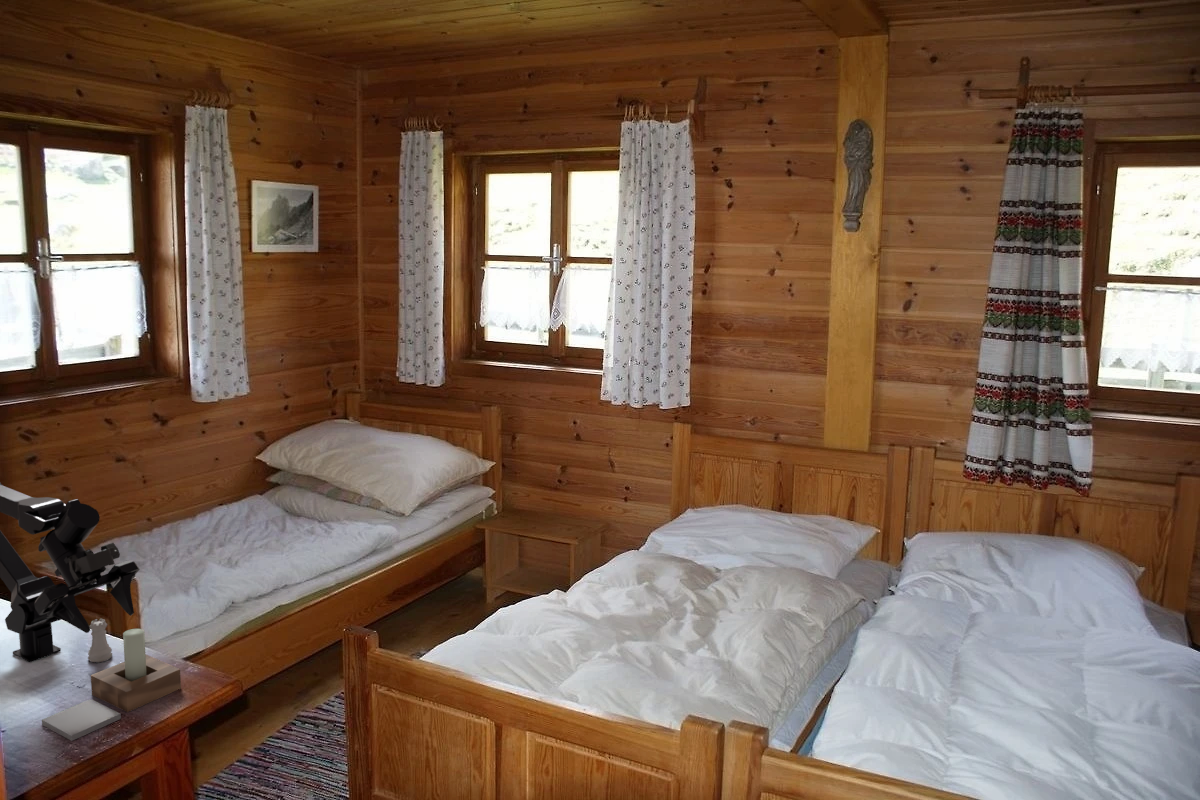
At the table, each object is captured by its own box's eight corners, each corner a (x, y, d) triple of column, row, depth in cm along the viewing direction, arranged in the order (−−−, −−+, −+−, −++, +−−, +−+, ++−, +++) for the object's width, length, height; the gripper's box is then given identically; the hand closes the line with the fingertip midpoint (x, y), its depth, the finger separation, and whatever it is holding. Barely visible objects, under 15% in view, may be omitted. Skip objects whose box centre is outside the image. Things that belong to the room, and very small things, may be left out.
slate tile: (42, 724, 170) (41, 719, 170) (91, 703, 178) (90, 698, 177) (71, 740, 165) (71, 735, 165) (120, 718, 173) (120, 713, 173)
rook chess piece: (102, 664, 192) (100, 627, 191) (82, 661, 193) (80, 624, 192) (117, 654, 197) (115, 618, 195) (98, 652, 198) (96, 615, 196)
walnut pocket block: (91, 694, 181) (90, 675, 180) (145, 672, 190) (144, 653, 189) (127, 712, 175) (126, 692, 175) (180, 688, 185) (180, 669, 184)
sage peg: (122, 692, 182) (118, 633, 180) (139, 685, 185) (136, 627, 183) (133, 698, 180) (130, 638, 178) (151, 690, 183) (148, 631, 181)
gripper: (39, 547, 174) (83, 618, 171) (130, 520, 190) (171, 585, 188) (15, 580, 179) (57, 649, 176) (106, 550, 195) (146, 613, 193)
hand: (110, 622), depth 183 cm, fingers open, 9 cm apart
